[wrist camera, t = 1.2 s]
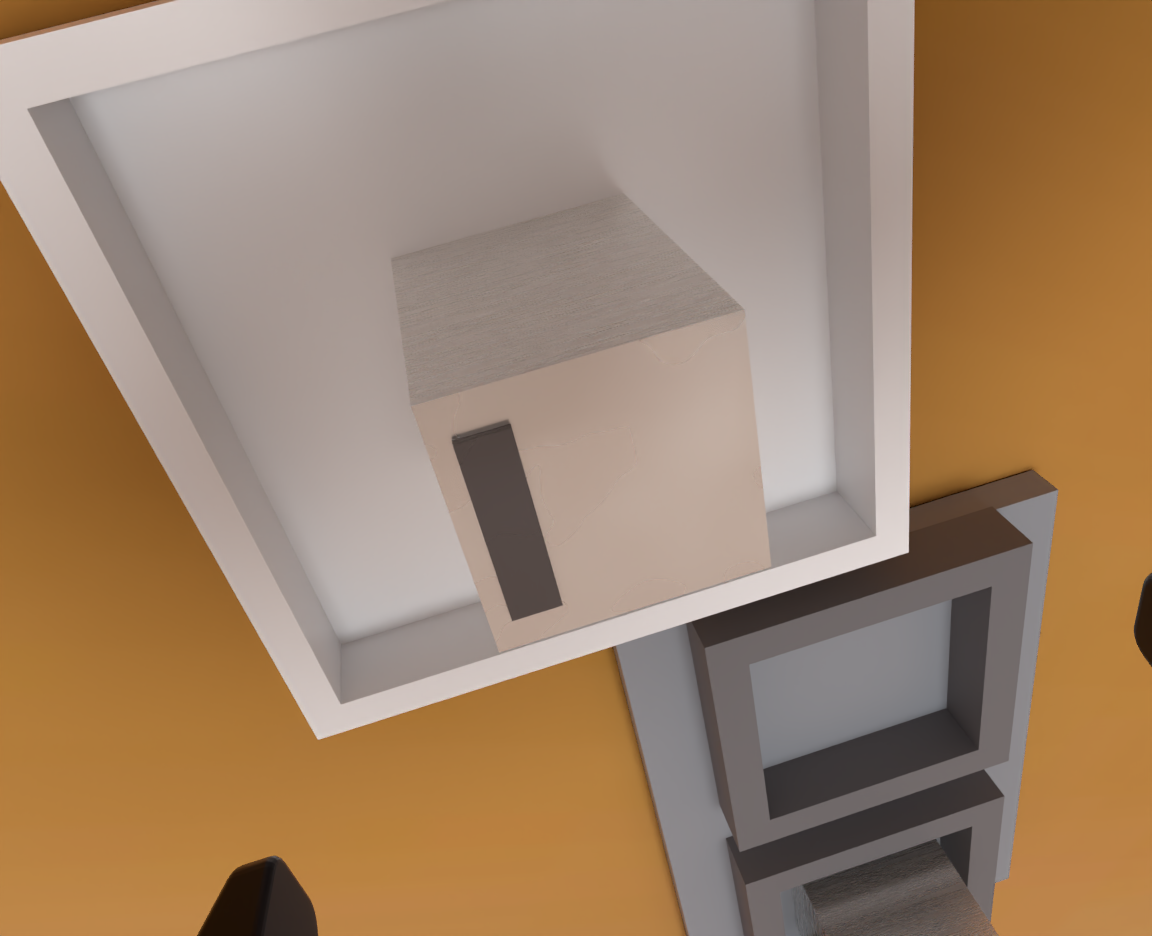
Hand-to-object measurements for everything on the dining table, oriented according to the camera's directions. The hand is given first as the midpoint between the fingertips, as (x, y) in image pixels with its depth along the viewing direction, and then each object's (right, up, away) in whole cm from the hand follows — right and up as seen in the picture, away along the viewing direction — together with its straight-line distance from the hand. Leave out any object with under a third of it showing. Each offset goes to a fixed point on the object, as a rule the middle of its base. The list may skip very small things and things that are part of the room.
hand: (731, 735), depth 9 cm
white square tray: (-2, +6, +9) cm, 11 cm away
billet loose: (-2, +5, +9) cm, 11 cm away
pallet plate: (+7, -6, +19) cm, 21 cm away
